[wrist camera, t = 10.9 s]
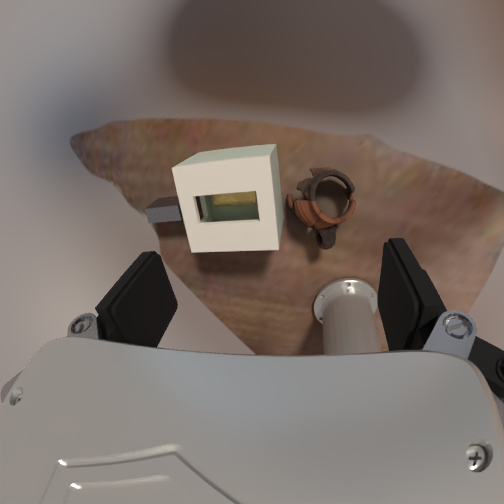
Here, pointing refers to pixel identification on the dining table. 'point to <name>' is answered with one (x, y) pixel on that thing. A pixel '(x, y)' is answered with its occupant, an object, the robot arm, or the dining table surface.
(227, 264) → the dining table surface
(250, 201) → the block
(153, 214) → the block
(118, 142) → the dining table surface
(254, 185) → the cream slotted box
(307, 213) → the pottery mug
